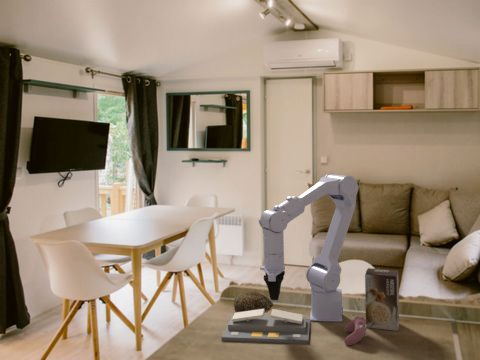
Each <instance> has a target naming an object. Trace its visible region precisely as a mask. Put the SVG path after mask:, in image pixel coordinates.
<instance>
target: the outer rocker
mask: <svg viewBox="0 0 480 360" xmlns="http://www.w3.org/2000/svg"><path fill="white" fill-rule="evenodd" d="M265 312H266V310H264V309H258V310H251V311H244V312H241V311H237V312H234V316H233V318H232V322H235V321H242V320H246V321H249V320H250V319H257V318H263V315H265Z"/></svg>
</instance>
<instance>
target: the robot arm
mask: <svg viewBox="0 0 480 360" xmlns="http://www.w3.org/2000/svg"><path fill="white" fill-rule="evenodd" d="M359 189H360V187H359V185H358V182H357V180H356V178H355V177H354V176H353V175H342V174H335V173H332V172H331V173H330V172H329V173H327V174H326V175H325V176H322V177H321V178H320V179H319V181H318V182H316V183H314V185H313V186H311V187H310V188H308V189H307V190H306V191H304V192H303V193H302V194H300V195H299V196H295V195H293V196H290V195H289V196H287V197H285V198H286V200H285V201H282V202H281V203H279V204H278V205H274V206H273V209H267V210H264V211H263V213H261V215H260V219H259V220H258V224H259V226H260V227H261V229H262V234H263V237H262V238H263V265H261V266H260V268H259V270H260V271H264V273H265V275H263V282H264V283H265V284H266V287H267V289H268V294H269V300H271V301H278V300H279V297H280V293H281V289H282V288H281V286H282V282H283V280H284V276H285V273H286V272H285V270H286V267H285V250H284V249H285V245H284V244H285V243H284V239H285V238H284V232H285V230H286V228H287V227H288V224H289V223H290V222H291V221H293V220H295V219H296V218H298V217H299V216H301V215H302V214H303V213H304V212H305V210H306V209H305V207H307V206H309V205H310V204H312V203H314V202H316V201H317V200H318V199H319V200H320V199H321V198H322V197H325V196H328V197H329V198H330V199H331V200H332V201H333V203H334V205H335V210H334V213H333V215H332V219H331V222H330V224H329V227H328V230H327V233H326V237H325V238H324V239H325V240H324V242H323V245H322V248H321V251H320V254H319V255H318V256H315V258H313V259H312V262H311V264H310V266H309V267H308V268H307V270H306V272H305V273H306V274H305V279H306V280H307V282H308V283H309V286H310V289H311V292H310V293H311V294H310V295H311V296H310V297H311V298H310V299H311V304H310V305H311V310H310V311H309V312H310V314H309V315H310V316H309V319H310V322H334V323H337V322H338V323H341V322H343V314H344V307H343V293H342V289H341V288H338V287H339V286H340V284H341V273H342V268H341V265H340V264H339V262H338V260H339V257H340V255H341V251H342V248H343V245H344V242H345V241H346V237H347V233H348V230H349V227H350V224H351V221H352V218H353V215H354V212H355V210H356V206H357V205H356V201H357V194H358V192H359Z"/></svg>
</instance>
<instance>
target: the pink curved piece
mask: <svg viewBox="0 0 480 360" xmlns="http://www.w3.org/2000/svg"><path fill="white" fill-rule="evenodd" d="M344 331H345V333H348V334H349V333H350V334H349V335H347V336H346V337H345V338H344V340H343V341H344V344H345V345H346V346H353V345H354V344H357V343H359V342H360V340H363V338H365V337H367V335H368V333H367V332H366V331H367V327H366V318H365V317H363V316H359V315H358V316H356V317H355V318H354V319H353V320H352V321H350V322H348V323H347V324H346V325H345V326H344Z"/></svg>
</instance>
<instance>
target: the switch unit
mask: <svg viewBox="0 0 480 360" xmlns="http://www.w3.org/2000/svg"><path fill="white" fill-rule="evenodd" d="M234 314H235V313H234ZM234 314H232V315H231V316H230V317H229V320H228V322H227V325H226V326H225V329H224V331H223V333H222V335H221V339H220V340H221V341H227V342H255V343H276V344H277V343H278V344H280V343H281V344H300V345H301V344H304V345H308V344H309V340H310V339H309V338H310V328H311V327H310V326H311V324H310V323H311V321H310V318H307V316H303V317H302V324H298V323H293V322H287V323H285V322H284V321H283V320H278V319H273V318H270V316H271V314H269V315H265V314H264V315H263V318H257V319H250V320H249V321H246V320H242V321H235V322H232V318H233V316H234Z"/></svg>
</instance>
